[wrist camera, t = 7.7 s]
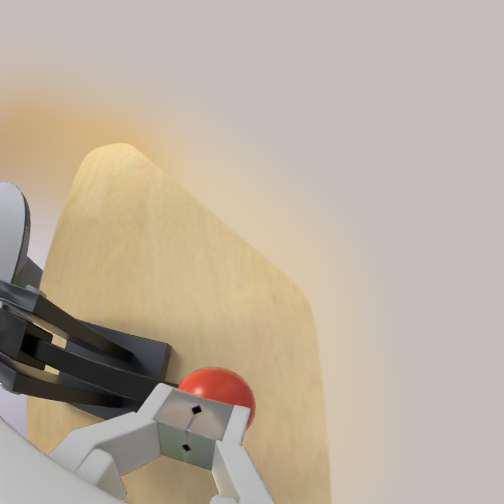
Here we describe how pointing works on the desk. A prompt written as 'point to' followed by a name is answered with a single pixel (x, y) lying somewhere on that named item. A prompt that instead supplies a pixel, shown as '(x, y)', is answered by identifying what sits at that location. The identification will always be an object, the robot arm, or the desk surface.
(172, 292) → the desk surface
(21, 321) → the lever
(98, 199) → the desk surface
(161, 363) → the bracket
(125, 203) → the desk surface
